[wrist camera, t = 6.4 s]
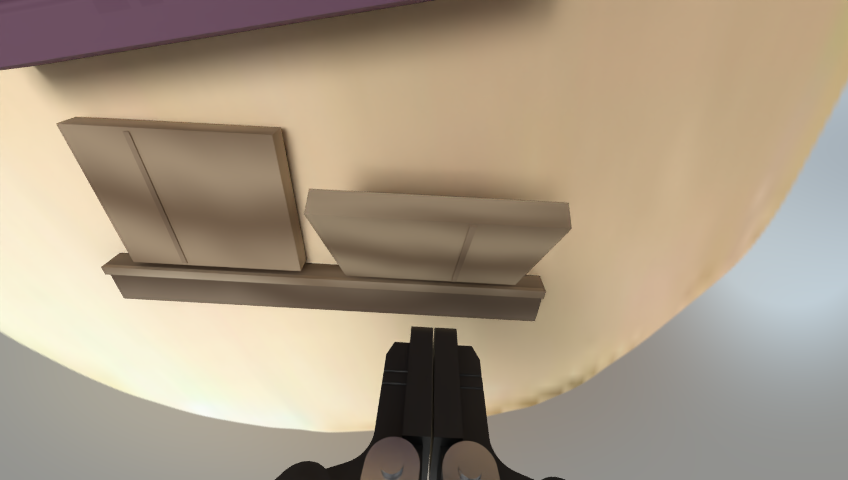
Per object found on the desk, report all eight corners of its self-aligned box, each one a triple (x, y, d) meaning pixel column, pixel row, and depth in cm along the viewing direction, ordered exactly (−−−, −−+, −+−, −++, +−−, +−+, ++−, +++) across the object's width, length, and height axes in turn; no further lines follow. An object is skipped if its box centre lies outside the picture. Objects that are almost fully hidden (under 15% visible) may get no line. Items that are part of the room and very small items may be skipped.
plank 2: (309, 188, 15) (303, 215, 14) (568, 202, 15) (571, 230, 14) (348, 258, 23) (345, 276, 23) (514, 267, 23) (515, 286, 23)
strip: (119, 253, 24) (101, 267, 23) (539, 276, 24) (545, 291, 23) (137, 286, 26) (120, 301, 24) (530, 308, 26) (535, 324, 24)
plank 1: (76, 116, 19) (54, 124, 18) (280, 127, 19) (271, 135, 18) (146, 250, 24) (132, 262, 23) (306, 259, 24) (300, 272, 23)
